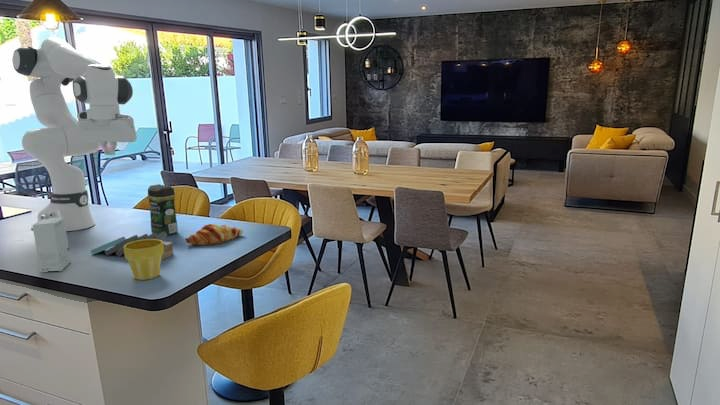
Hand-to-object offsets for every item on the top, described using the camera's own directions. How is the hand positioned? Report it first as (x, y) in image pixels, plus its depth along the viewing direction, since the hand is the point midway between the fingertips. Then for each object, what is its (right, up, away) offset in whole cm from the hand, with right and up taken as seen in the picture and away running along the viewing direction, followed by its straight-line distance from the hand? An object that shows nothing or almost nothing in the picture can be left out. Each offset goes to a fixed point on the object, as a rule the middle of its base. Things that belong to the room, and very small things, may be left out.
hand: (109, 154), depth 162 cm
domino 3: (+8, -33, -8) cm, 35 cm away
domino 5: (+15, -33, -9) cm, 37 cm away
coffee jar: (+12, -28, +17) cm, 35 cm away
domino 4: (+12, -33, -9) cm, 36 cm away
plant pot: (+25, -38, -26) cm, 52 cm away
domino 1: (-1, -32, -6) cm, 33 cm away
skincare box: (-6, -36, -20) cm, 42 cm away
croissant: (+35, -31, +7) cm, 47 cm away
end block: (+22, -34, -10) cm, 42 cm away
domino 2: (+4, -33, -7) cm, 34 cm away
